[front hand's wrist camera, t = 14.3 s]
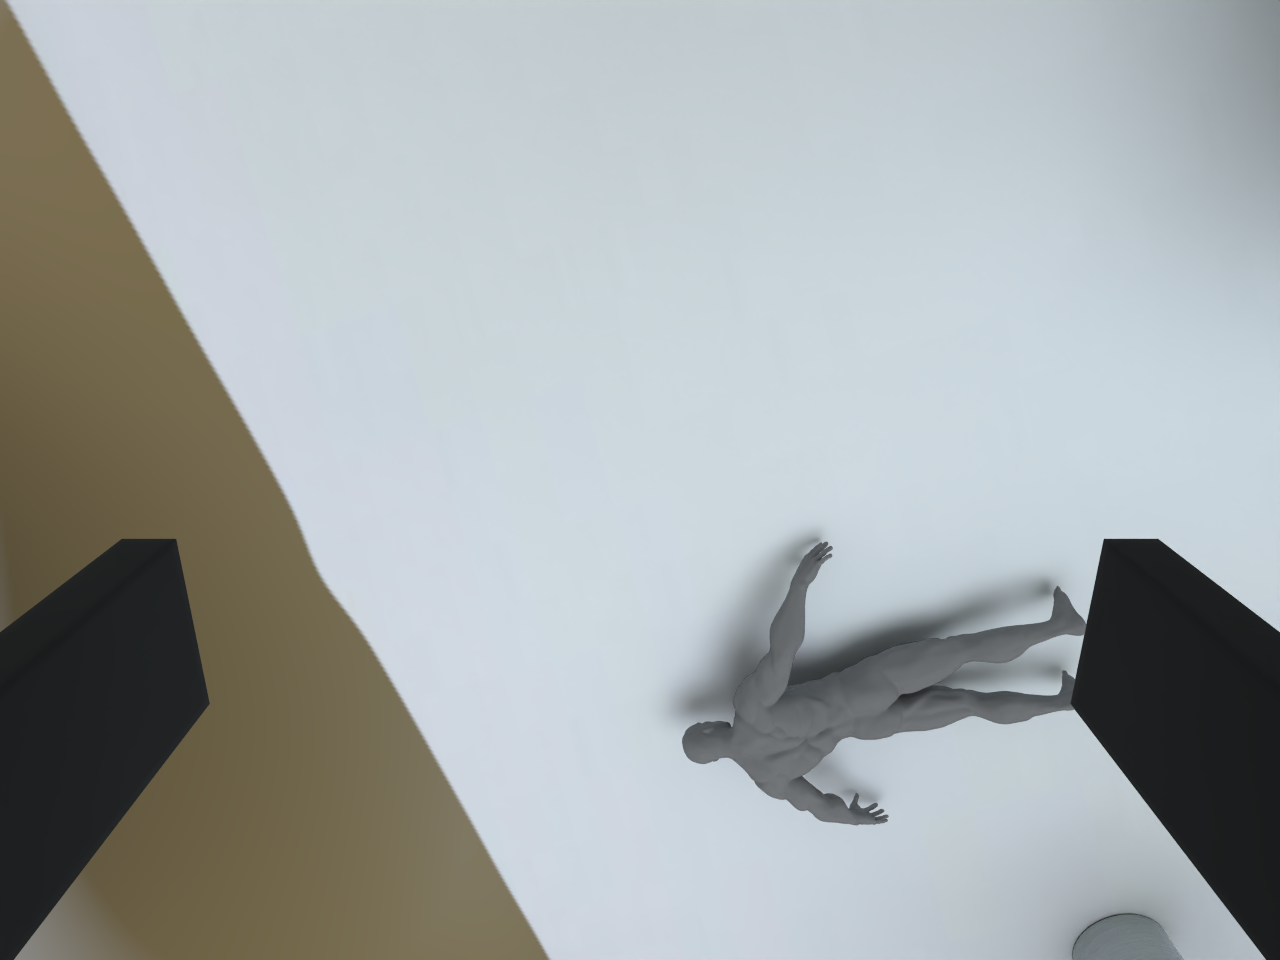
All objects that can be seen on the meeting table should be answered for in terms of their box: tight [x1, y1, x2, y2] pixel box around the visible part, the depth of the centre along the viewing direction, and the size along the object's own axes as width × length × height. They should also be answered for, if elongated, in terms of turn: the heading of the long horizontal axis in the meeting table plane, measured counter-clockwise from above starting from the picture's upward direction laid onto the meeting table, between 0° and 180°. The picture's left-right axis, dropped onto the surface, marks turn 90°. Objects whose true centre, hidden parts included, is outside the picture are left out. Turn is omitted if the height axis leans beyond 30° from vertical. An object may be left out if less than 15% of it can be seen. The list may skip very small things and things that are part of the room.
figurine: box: [682, 542, 1086, 825], centre depth 44 cm, size 17×4×20 cm
